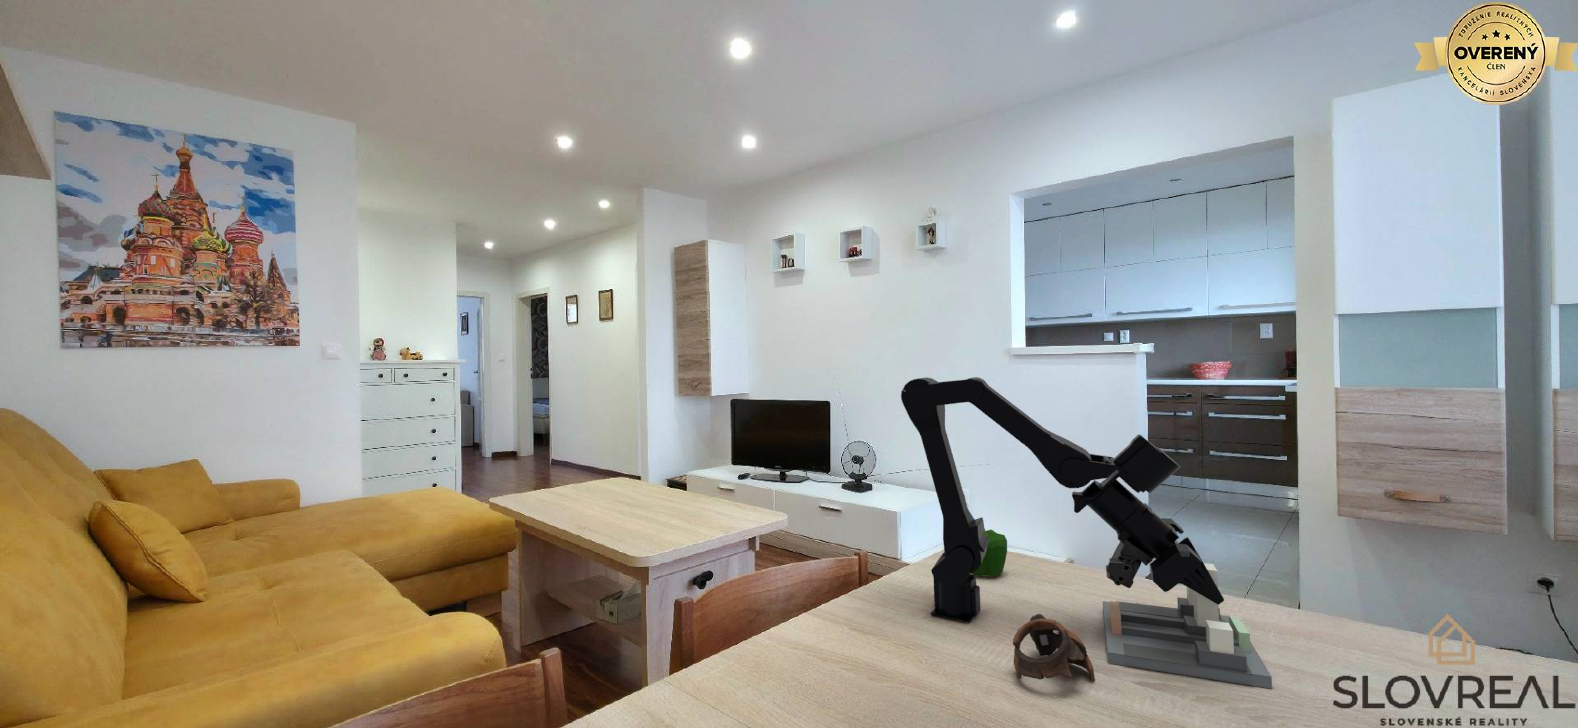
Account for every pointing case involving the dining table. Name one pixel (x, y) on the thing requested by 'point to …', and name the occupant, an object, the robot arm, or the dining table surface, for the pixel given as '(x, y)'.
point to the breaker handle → (1203, 609)
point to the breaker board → (1182, 643)
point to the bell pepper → (993, 555)
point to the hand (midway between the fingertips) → (1218, 597)
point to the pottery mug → (1049, 650)
